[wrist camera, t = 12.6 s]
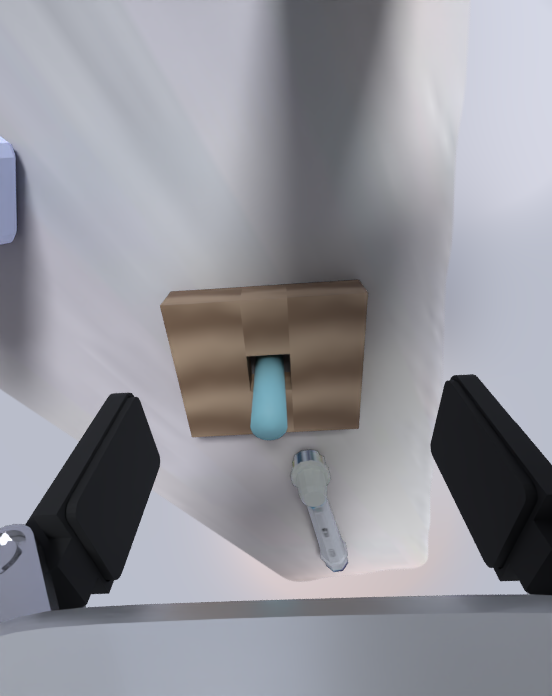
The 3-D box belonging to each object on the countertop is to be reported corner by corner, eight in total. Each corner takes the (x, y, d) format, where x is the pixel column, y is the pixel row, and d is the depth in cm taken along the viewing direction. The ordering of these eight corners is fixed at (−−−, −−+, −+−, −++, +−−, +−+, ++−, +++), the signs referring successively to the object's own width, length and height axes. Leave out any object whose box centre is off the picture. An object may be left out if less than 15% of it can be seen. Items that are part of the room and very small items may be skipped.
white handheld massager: (323, 575, 57) (289, 497, 42) (317, 534, 62) (285, 452, 48) (354, 571, 56) (331, 490, 42) (346, 529, 62) (323, 445, 47)
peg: (254, 345, 40) (248, 412, 29) (282, 343, 39) (286, 410, 29) (257, 369, 41) (252, 441, 31) (284, 367, 41) (288, 439, 30)
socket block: (170, 291, 37) (159, 305, 33) (358, 279, 36) (367, 292, 33) (198, 415, 45) (192, 437, 42) (351, 407, 44) (358, 428, 41)
